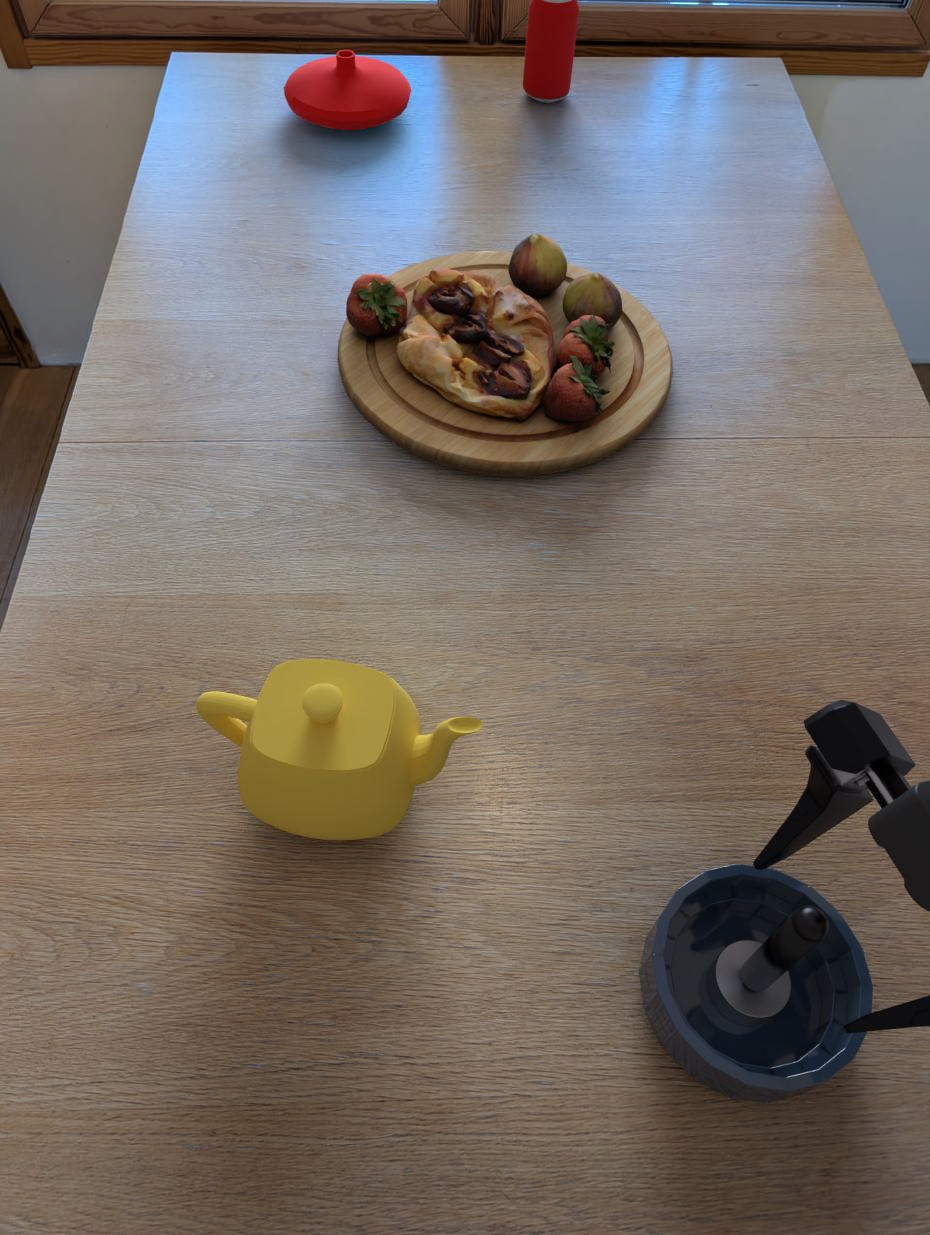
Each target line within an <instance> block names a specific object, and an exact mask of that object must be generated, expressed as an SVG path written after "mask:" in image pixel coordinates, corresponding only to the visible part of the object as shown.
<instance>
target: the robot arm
mask: <svg viewBox="0 0 930 1235" xmlns="http://www.w3.org/2000/svg"><path fill="white" fill-rule="evenodd" d="M803 725H804V729H805V730H806V732H807V733H808V735H809V737H810V738H811V739H812V742H814V744H815V745H812V744H810V745H808V747H807V748H806V750H805V751H804V752H805V753H804V754H805V757H806V759H807V760H808V762H809V764H810V770H809V773H808V774H809V775H808V779H807V783H806V786H805V789H804V790H803V792H802V794H801V796H800V798H798V801H797V803H796V804H795V806H794V807H793V809H792V810H791V812H790V813H789V815H788V816H787V817H786V819H785V820H784V821H783V823H782V824H781V825H780V826H779V828H778V829H777V831H776V832H775V833H774V834H773V836H772V837H771V838H770V839H769V841H768V842H767V843H766V845H765V846H764V847H763V849H762V850H761V851H760V853H759V854H758V855H757V857H756V858H755V859H754V860H753V862H752V866H754V867H755V868H756V869H758V870H763V869H766V868H771V867H772V866H774V865H776V864H778V863H780V862H782V861H784V860H786V859H787V858H789V857H791V856H793V855H794V854H796V853H797V852H798V851H800V850H802V849H803V848H805V847H806V846H808V845H809V844H810V843H813V842H814V841H815V840H817V839H818V838H819V837H821V836H823V835H824V834H825V833H827V832H829V831H831V829H833V828H835V827H836V826H837V825H839V824H840V823H842V822H844V821H846V820H847V819H848V818H850V817H851V816H852V815H855V814H856V813H858V812H859V811H860V810H861V809H864V808H865V807H866V806H867V805H869V804H870V803H872V802H874V800H876V802H877V804H878V806H879V807H880V808H881V809H879V810H878V811H877V812H875V813H874V814H873V815H871V816H870V817H869V818H868V821H867V827H868V831H869V834H870V835H871V837H872V839H873V840H874V842H875V844H876V845H877V846H878V847H881V848H883V849H884V851H885V852H886V853H887V855H888V857H889V858H890V861H892V863H893V864H894V867H895V868H896V869H897V870H898V872H899V874H900V875H901V877H902V878H903V881H904V883H903V886H904V889H905V890H906V892H907V894H908V895H909V896H910V898H911V899H912V900H913V902H914V903H915V904H916V905H918V906H919V907H920V908H921V909H923V910H925V911H927V912H930V780H923V781H918V782H917V783H916V784H914V785H913V786H911V785H910V783H909V782H908V781H907V779H906V776H907V775H908V774H909V773H910V772H911V771H912V769H914V767H915V766H916V763H915V761H914V760H913V758H912V757H911V755H910V754H909V752H908V750H906V748H905V747H904V746H903V744H902V743H901V741H900V740H899V738H898V737H897V735H896V734H895V733H894V731H893V730H892V728H891V727H890V726H889V724H888V723H887V722H886V720H885V719H884V717H883V716H882V714H881V713H878V712H877V711H875V710H872V709H870V708H868V707H866V706H864V705H862V704H859V703H857V702H855V701H849V700H843V699H840V700H838V701H834V702H832V703H828V704H827V705H825V706H824V707H822V708H821V709H819V710H818V711H816V712H814V713H813V714H812V715H810V716H808V717H806V718H805V719H804V720H803ZM922 1027H929V1028H930V994H929V995H926V996H923V997H919V998H916V999H913V1000H910V1001H906V1002H903V1003H899V1004H895V1005H892V1006H889V1007H886V1008H882V1009H880V1010H876V1011H872V1013H869V1014H867V1015H864V1016H862V1017H860V1018H858V1019H856V1020H854V1021H852V1022H850V1023H848V1024H846V1025H844V1028H845V1030H846V1032H847V1033H859V1032H867V1033H868V1032H879V1031H889V1030H899V1029H909V1028H922Z"/></svg>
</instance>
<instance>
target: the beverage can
mask: <svg viewBox="0 0 930 1235" xmlns="http://www.w3.org/2000/svg"><path fill="white" fill-rule="evenodd" d="M527 13H528V14H527V24H526V35H525V36H526V37H525V50H524V61H523V74H522V88H523V91H524V92H525V94H526V95H527V96H529V97H530V98H531V99H533V100H535V101H537V102H540V103H544V104H548V103H549V104H552V103H556V102H558V101H560V100H563V99H565V98H566V97H567V96H568V95H569V93H570V90H571V84H572V75H573V66H574V59H575V52H576V51H575V50H576V41H577V34H578V26H579V16H580V4H579V1H578V0H530V2H529V3H528V12H527Z"/></svg>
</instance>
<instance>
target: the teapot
mask: <svg viewBox="0 0 930 1235" xmlns="http://www.w3.org/2000/svg"><path fill="white" fill-rule="evenodd" d="M195 710H196V712H197V713H198V715H199V717H200V718H201V719H202V720H203V721H204V722H205V723H207V725H208V726H210V728H212V729H213V730H215V731H216V732H218V734H220V735H222V736H223V737H224V738H226V739H228V740H229V741H231V742H232V743H233V744H235V745H236V746H238V747H240V748H241V749H240V755H239V761H238V767H237V786H238V793H239V796H240V800H241V802H242V804H243V806H244V807H245V809H246V810H247V811H248V812H249V813H250V814H251V815H252V816H254V817H255V818H256V819H258V820H260V821H261V822H263V823H265V824H267V825H269V826H272V827H273V828H276V829H279V830H281V831H284V832H286V833H289V834H293V835H297V836H300V837H304V838H309V839H315V840H324V841H354V840H365V839H369V838H377V837H379V836H382V835H385V834H387V833H389V832H391V831H392V830H394V829H395V828H397V826H398V825H400V824H401V822H402V820H403V819H404V817H405V816H406V814H407V812H408V810H409V806H410V804H411V801H412V798H413V795H414V792H415V788H416V787H417V786H420V785H423V784H426V783H427V782H430V781H433V779H435V778H436V777H437V776H438V775H439V774H440V773H441V771H442V770H443V768H444V767H445V766H446V763H447V760H448V757H449V754H450V751H451V747H452V745H453V744H454V742H456V740H458V739H459V738H462V737H464V736H468V735H471V734H474V733H476V732H478V731H480V730H481V729H482V728H483V722H482V721H481V720H480V719H478V718H476V717H472V716H456V717H451V718H449V719H445V720H444V721H441V722H440V723H438V724H437V726H435V728H434V730H433V732H432V733H428V734H422V732H423V730H422V723H421V719H420V715H419V712H418V709H417V706H416V705H415V703H414V701H413V699H412V698H411V696H410V695H409V694H408V693H407V691H405V689H404V688H403V687H402V686H401V685H400V684H399V683H398V682H397V681H395V679H393V678H392V677H390V676H389V675H388V674H385V673H384V672H381V671H380V670H378V669H375V668H372V667H368V666H364V665H361V664H357V663H352V662H349V661H348V662H347V661H342V660H336V659H323V658H303V659H301V658H299V659H291V660H287V661H283V662H281V663H279V664H277V665H275V667H274V668H272V670H271V671H270V672H269V674H268V675H267V677H266V679H265V681H264V683H263V686H262V688H261V690H260V692H259V694H258V696H257V699H255V698H251V697H247V696H243V695H239V694H235V693H230V692H224V691H217V690H215V691H212V690H211V691H206V692H203V693H202V694H201V695H199V696H198V697H197V699H196V702H195ZM243 721H245V722H247V724H246V723H245V722H243Z"/></svg>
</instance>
